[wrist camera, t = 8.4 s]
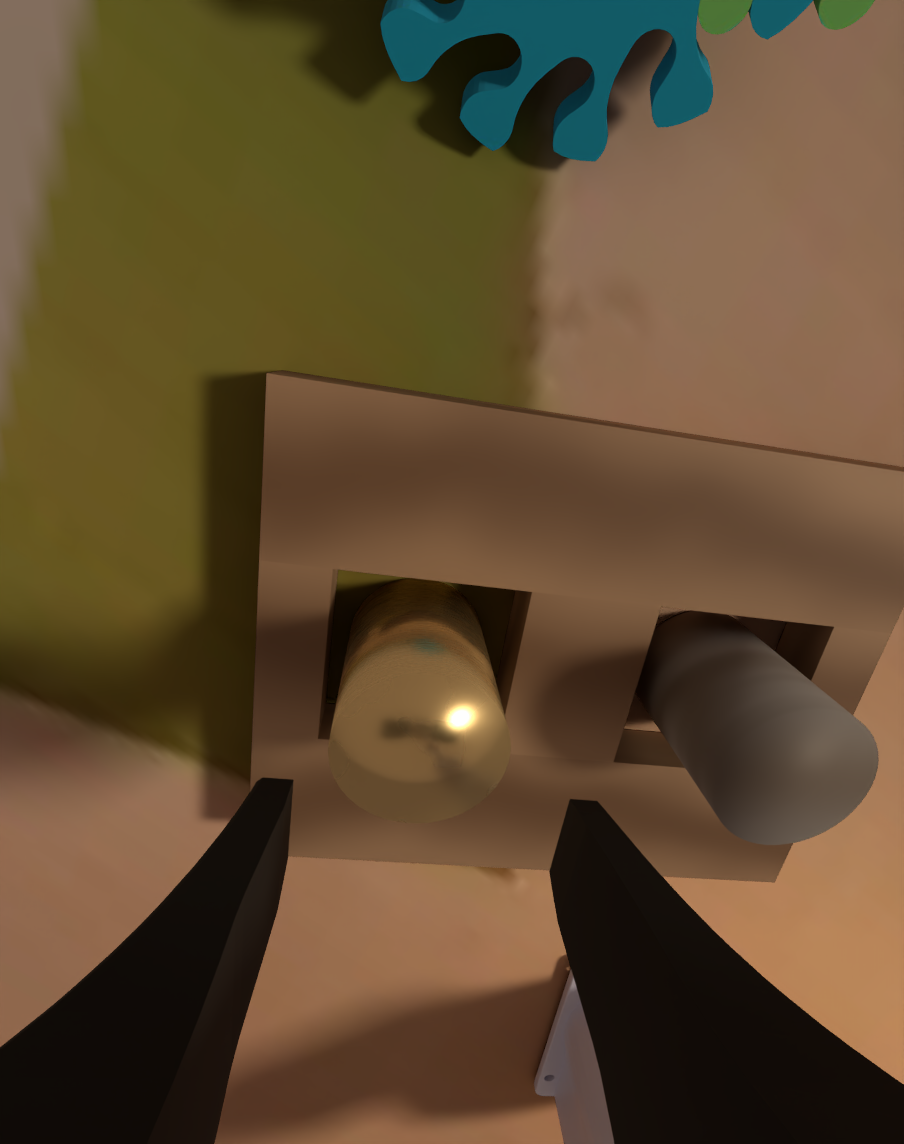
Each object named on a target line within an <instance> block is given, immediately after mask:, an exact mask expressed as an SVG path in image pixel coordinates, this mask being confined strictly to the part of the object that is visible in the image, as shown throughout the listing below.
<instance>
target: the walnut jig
mask: <svg viewBox="0 0 904 1144" xmlns="http://www.w3.org/2000/svg"><path fill="white" fill-rule="evenodd" d="M338 570H347V571H355V572H364V573H373V574H381V575H390V576H399V577H407V578H416V579H425V580H433V581H442V582H451V583H459V584H468V585H477V586H485V587H494V588H503V589H511V590H515V594H514V599H513V604H512V609H511V613H510V618H509V623H508V628H507V633H506V637H505V642H504V647H503V652H502V657H501V661H500V666H499V671H498V676H497V681H496V685H497V688H498V692H499V696H500V699H501V703H502V707H503V710H504V714H505V718H506V722H507V725H508V729H509V733H510V740H511V753H510V758H509V763H508V765H507V768H506V771H505V773H504V775H503V777H502V779H501V780H500V782H499V783H498V785H497V786H496V788H495V789H494V790H493V791H492V792H491V793H490V794H489V795H488V796H487V797H486V798H485V799H484V800H483V801H481V802H480V803H479V804H477V805H476V806H474V807H473V808H471V809H469V810H468V811H466V812H464V813H462V814H459V815H457V816H454V817H452V818H448V819H445V820H441V821H436V822H430V823H402V822H395V821H391V820H387V819H384V818H381V817H378V816H375V815H373V814H371V813H369V812H367V811H365V810H364V809H362V808H361V807H359V806H358V805H356V804H355V803H354V802H353V801H351V800H350V799H349V798H348V797H347V796H346V795H345V794H344V792H343V791H342V790H341V789H340V787H339V786H338V784H337V782H336V781H335V779H334V776H333V774H332V772H331V768H330V764H329V757H328V745H329V739H330V733H331V728H332V723H333V718H334V713H335V707H336V704H327V703H326V696H327V685H328V674H329V663H330V652H331V641H332V630H333V619H334V608H335V597H336V586H337V575H338ZM661 607H667V608H676V609H685V610H693V611H690V612H685V613H682V614H679V615H677V616H674V617H672V618H670V619H668V620H667V621H665V622H663V623H662V624H660V625H659V626H658V627H656V628H655V625H656V622H657V619H658V616H659V612H660V609H661ZM903 607H904V467H899V466H892V465H886V464H879V463H873V462H867V461H860V460H854V459H847V458H841V457H835V456H828V455H822V454H815V453H809V452H803V451H796V450H790V449H783V448H777V447H770V446H764V445H758V444H751V443H745V442H738V441H732V440H726V439H719V438H713V437H706V436H700V435H694V434H687V433H681V432H674V431H668V430H662V429H655V428H649V427H642V426H636V425H629V424H623V423H617V422H610V421H604V420H597V419H591V418H585V417H578V416H572V415H565V414H559V413H553V412H546V411H540V410H533V409H527V408H521V407H514V406H508V405H501V404H495V403H488V402H482V401H476V400H469V399H463V398H456V397H450V396H444V395H437V394H431V393H424V392H418V391H412V390H405V389H399V388H392V387H386V386H380V385H373V384H367V383H360V382H354V381H347V380H341V379H335V378H328V377H322V376H315V375H309V374H303V373H296V372H290V371H283V370H282V371H276V372H270V373H267V376H266V401H265V427H264V452H263V477H262V502H261V527H260V553H259V578H258V603H257V628H256V654H255V679H254V704H253V729H252V754H251V780H250V791H251V790H252V788H253V787H254V785H255V783H256V782H257V781H258V780H260V779H261V778H262V777H264V778H278V779H293V780H294V781H293V795H292V809H291V823H290V837H289V851H288V856H292V857H310V858H329V859H347V860H366V861H385V862H403V863H422V864H440V865H459V866H478V867H496V868H515V869H533V870H550V867H551V864H552V860H553V857H554V853H555V849H556V846H557V842H558V839H559V835H560V832H561V828H562V825H563V821H564V818H565V814H566V811H567V807H568V804H569V800H570V799H578V800H593V801H598V802H599V803H600V805H601V806H602V807H603V808H604V809H605V810H606V811H607V813H608V814H609V815H610V816H611V817H612V819H613V820H614V821H615V822H616V823H617V824H618V826H619V827H620V828H621V829H622V830H623V832H624V833H625V834H626V835H627V836H628V838H629V839H630V840H631V841H632V842H633V843H634V845H635V846H636V847H637V848H638V849H639V850H640V852H641V853H642V854H643V855H644V856H645V857H646V859H647V860H648V861H649V862H650V863H651V864H652V866H653V867H654V868H655V869H656V870H657V871H658V872H659V873H660V875H661V876H664V877H682V878H701V879H719V880H738V881H757V882H775V881H776V878H777V876H778V874H779V872H780V870H781V868H782V866H783V863H784V861H785V859H786V857H787V855H788V853H789V851H790V849H791V846H792V844H793V843H795V842H799V841H802V840H806V839H809V838H811V837H814V836H816V835H819V834H821V833H823V832H825V831H827V830H828V829H830V828H832V827H833V826H835V825H837V824H838V823H839V822H841V821H842V820H843V819H845V818H846V817H847V816H848V815H849V814H850V813H851V812H853V811H854V809H855V808H856V807H857V806H858V805H859V804H860V803H861V801H862V800H863V799H864V797H865V796H866V795H867V793H868V791H869V790H870V788H871V786H872V784H873V781H874V779H875V776H876V772H877V768H878V749H877V745H876V742H875V740H874V737H873V735H872V734H871V732H870V731H869V730H868V729H867V728H866V726H865V725H864V724H863V723H861V722H860V721H859V720H858V719H856V718H855V717H854V716H853V714H854V712H855V710H856V708H857V706H858V703H859V701H860V699H861V697H862V695H863V693H864V691H865V688H866V686H867V684H868V682H869V680H870V678H871V676H872V674H873V671H874V669H875V667H876V665H877V663H878V661H879V659H880V656H881V654H882V652H883V650H884V648H885V646H886V644H887V642H888V639H889V637H890V635H891V633H892V631H893V629H894V627H895V624H896V622H897V620H898V618H899V616H900V614H901V612H902V610H903ZM727 614H728V615H727ZM729 615H737V616H745V617H754V618H763V619H771V620H780V621H787V623H786V626H785V628H784V631H783V633H782V636H781V639H780V641H779V644H778V646H777V649H776V651H774V650H772V649H771V648H770V647H769V646H768V645H766V644H765V643H764V642H763V641H762V640H760V639H759V638H758V637H757V636H755V635H754V634H753V633H752V632H751V631H749V630H748V629H747V628H746V627H744V626H743V625H742V624H741V623H740V622H738V621H737V620H736V619H734V618H733V617H731V616H729ZM635 692H636V695H637V696H638V698H639V699H640V701H641V702H642V704H643V705H644V707H645V708H646V710H647V711H648V713H649V714H650V716H651V717H652V719H653V720H654V722H655V723H656V725H657V726H658V728H659V729H660V731H661V732H650V731H639V730H627V729H624V726H625V723H626V720H627V716H628V713H629V710H630V707H631V703H632V700H633V697H634V694H635Z"/></svg>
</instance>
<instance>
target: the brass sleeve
mask: <svg viewBox="0 0 904 1144" xmlns="http://www.w3.org/2000/svg"><path fill="white" fill-rule="evenodd" d="M510 753H511V740H510V733H509V729H508V725H507V722H506V718H505V714H504V710H503V707H502V703H501V699H500V696H499V692H498V688H497V685H496V681H495V677H494V673H493V670H492V666H491V662H490V659H489V655H488V651H487V648H486V644H485V640H484V637H483V633H482V629H481V625H480V622H479V618H478V616H477V614H476V611H475V609H474V608H473V606H472V605H471V603H470V602H469V601H468V600H467V599H466V597H464V596H463V595H462V594H461V593H460V592H459V591H457V590H456V589H454V588H453V587H451V586H449V585H447V584H445V583H442V582H439V581H433V580H425V579H416V578H407V579H401V580H398V581H394V582H391V583H389V584H386V585H384V586H382V587H381V588H379V589H377V590H376V591H374V592H373V593H372V594H371V595H369V596H368V597H367V598H366V599H365V600H364V602H363V603H362V604H361V606H360V607H359V608H358V610H357V612H356V614H355V616H354V619H353V621H352V625H351V630H350V635H349V640H348V645H347V651H346V656H345V661H344V666H343V671H342V676H341V682H340V687H339V692H338V697H337V702H336V707H335V713H334V718H333V723H332V728H331V733H330V739H329V745H328V757H329V764H330V768H331V772H332V774H333V776H334V779H335V781H336V782H337V784H338V786H339V787H340V789H341V790H342V791H343V792H344V794H345V795H346V796H347V797H348V798H349V799H350V800H351V801H353V802H354V803H355V804H356V805H358V806H359V807H361V808H362V809H364V810H365V811H367V812H369V813H371V814H373V815H375V816H378V817H381V818H384V819H387V820H391V821H395V822H402V823H430V822H436V821H441V820H445V819H448V818H452V817H454V816H457V815H459V814H462V813H464V812H466V811H468V810H469V809H471V808H473V807H474V806H476V805H477V804H479V803H480V802H481V801H483V800H484V799H485V798H486V797H487V796H488V795H489V794H490V793H491V792H492V791H493V790H494V789H495V788H496V786H497V785H498V783H499V782H500V780H501V779H502V777H503V775H504V773H505V771H506V768H507V765H508V763H509V758H510Z"/></svg>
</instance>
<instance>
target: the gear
mask: <svg viewBox="0 0 904 1144" xmlns="http://www.w3.org/2000/svg"><path fill="white" fill-rule="evenodd" d="M812 1H814V4H815V7H816V10H817V13H818V15H819V18H820V21H821V23H822V24H823V25H824V26H825V27H826V28H829V29H834V30H836V29H842V28H845V27H847V26H849V25H851V24H853V23H854V22H856V21H857V20H858V19H859V18H861V17H862V16H863V15H864V14H865V13H866V12H867V11H868V9H869V8H870V7H871V5H872V4H873V2H874V1H875V0H456V1H454V2H453V3H449V4H441V3H438V2H436V1H434V0H388V1H387V2H386V4H385V7H384V11H383V15H382V19H381V23H380V24H381V31H382V37H383V40H384V43H385V47H386V50H387V52H388V55H389V57H390V59H391V61H392V64H393V66H394V68H395V69H396V71H397V73H398V75H399V77H400V79H401V81H406V82H412V81H417V80H419V79H421V78H423V77H424V76H425V75H426V74H427V73H428V72H429V70H430V69H431V67H432V66H433V64H434V63H435V61H436V60H437V59H438V58H439V57H440V56H441V55H442V54H443V53H444V52H445V51H446V50H448V49H449V48H450V47H452V46H453V45H454V44H456V43H458V42H460V41H463V40H465V39H467V38H471V37H475V36H479V35H486V34H494V33H504V34H507V35H509V36H510V37H512V38H513V39H514V40H515V41H516V42H517V44H518V46H519V48H520V51H521V54H520V56H519V58H518V59H517V61H516V62H515V63H514V64H513V65H512V66H510V67H509V68H507V69H503V70H495V71H487V72H483V73H480V74H478V75H476V76H474V77H473V78H472V79H471V80H470V81H469V83H468V84H467V86H466V88H465V90H464V93H463V98H462V105H461V112H460V119H461V121H462V123H463V124H464V126H465V127H466V129H467V130H468V131H469V132H470V133H471V134H472V135H473V136H474V137H475V138H476V139H477V140H478V141H479V142H481V143H482V144H483V145H485V146H486V147H488V148H489V149H490V150H492V151H494V150H496V149H498V148H500V147H501V146H503V145H504V144H505V143H506V141H507V140H508V139H509V137H510V135H511V133H512V130H513V125H514V121H515V118H516V115H517V112H518V110H519V107H520V105H521V104H522V102H523V100H524V98H525V97H526V95H527V93H528V92H529V91H530V90H531V88H532V87H533V86H534V85H535V83H536V82H537V81H539V80H540V79H541V78H542V77H543V76H544V75H545V74H546V73H547V72H549V71H550V70H551V69H552V68H554V67H555V66H556V65H557V64H559V63H560V62H561V61H563V60H565V59H567V58H570V57H580V58H583V59H585V60H586V61H588V63H589V64H590V65H591V67H592V69H593V70H592V73H591V75H590V77H589V78H588V80H587V81H586V82H585V83H584V84H583V85H582V86H581V87H580V88H578V89H577V90H576V91H574V92H573V93H572V94H570V95H569V96H568V97H566V98H565V99H564V100H563V101H562V102H561V104H560V105H559V107H558V109H557V111H556V113H555V117H554V124H553V149H554V151H555V152H556V153H558V154H560V155H561V156H564V157H567V158H570V159H575V160H582V161H596V160H597V159H598V158H599V157H600V156H601V154H602V153H603V151H604V149H605V146H606V143H607V137H608V129H607V104H608V99H609V94H610V91H611V88H612V85H613V82H614V79H615V77H616V75H617V73H618V71H619V69H620V67H621V65H622V63H623V61H624V60H625V58H626V56H627V54H628V53H629V51H630V49H631V47H632V46H633V44H634V43H635V42H636V40H637V39H638V38H639V37H640V36H641V35H643V34H644V33H646V32H648V31H651V30H653V29H662V30H666V31H667V32H669V33H670V34H671V35H672V37H673V40H672V43H671V45H670V47H669V49H668V51H667V53H666V55H665V56H664V58H663V59H662V61H661V63H660V64H659V66H658V68H657V69H656V71H655V73H654V75H653V78H652V81H651V86H650V97H651V107H652V117H653V120H654V123H655V124H656V126H657V127H669V126H674V125H678V124H681V123H683V122H686V121H688V120H691V119H693V118H695V117H697V116H699V115H701V114H703V113H706V112H707V111H708V109H709V107H710V105H711V102H712V97H713V84H712V79H711V73H710V68H709V64H708V61H707V59H706V57H705V56H704V54H703V52H702V51H701V49H700V47H699V44H698V42H697V39H696V23H697V15H698V17H699V21H700V24H701V26H702V28H703V29H704V30H705V31H706V32H709V33H711V34H722V33H725V32H727V31H730V30H731V29H733V28H734V27H735V26H737V25H738V24H739V23H740V22H741V21H742V19H743V18H744V17H745V15H746V14H747V12H749V15H750V19H751V23H752V26H753V29H754V30H755V32H756V33H757V34H758V35H759V36H760V37H762V38H765V39H769V38H770V37H772V36H774V35H775V34H777V33H779V32H780V31H781V30H783V29H784V28H785V27H786V26H788V25H789V24H790V23H791V22H793V21H794V20H795V19H796V18H797V17H798V16H799V15H800V14H801V13H802V12H803V11H804V10H805V9H806V8H807V7H808V6H809V4H810V3H811V2H812Z"/></svg>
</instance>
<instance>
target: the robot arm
mask: <svg viewBox="0 0 904 1144" xmlns="http://www.w3.org/2000/svg"><path fill="white" fill-rule="evenodd" d="M293 781H294V780H293V779H278V778H264V777H262V778H261V779H260V780H258V781H257V782H256V783H255V785H254V787H253V788H252V790H251V791H250V793H249V795H248V796H247V798H246V799H245V801H244V802H243V804H242V805H241V806H240V808H239V809H238V811H237V812H236V813H235V815H234V816H233V818H232V819H231V820H230V822H229V823H228V824H227V826H226V827H225V828H224V830H223V831H222V832H221V833H220V835H219V836H218V837H217V838H216V840H215V841H214V842H213V843H212V845H211V846H210V847H209V848H208V850H207V851H206V852H205V853H204V855H203V856H202V857H201V858H200V860H199V861H198V862H197V863H196V864H195V866H194V867H193V868H192V869H191V870H190V871H189V873H188V874H187V875H186V876H185V877H184V878H183V879H182V880H181V881H180V883H179V884H178V885H177V886H176V887H175V888H174V889H173V890H172V892H171V893H170V894H169V895H168V896H167V897H166V898H165V899H164V901H163V902H162V903H161V904H160V905H159V906H158V907H157V908H156V909H155V910H154V911H153V912H152V913H151V914H150V915H149V916H148V917H147V918H146V919H145V920H144V922H143V923H142V924H141V925H140V926H139V927H138V928H137V929H136V930H135V931H134V932H133V933H131V934H130V935H129V936H128V937H127V938H126V939H125V940H124V941H123V942H122V943H121V944H120V945H119V946H118V947H117V948H116V949H115V950H114V951H113V952H112V953H111V954H110V955H109V956H108V957H106V958H105V959H104V960H103V961H102V962H101V963H100V964H99V965H98V966H97V967H95V968H94V969H93V970H92V971H91V972H90V973H89V974H88V975H87V976H86V977H84V978H83V979H82V980H81V981H80V982H79V983H78V984H77V985H76V986H74V987H73V988H72V989H71V990H70V991H69V992H68V993H66V994H65V995H64V996H63V997H62V998H61V999H59V1000H58V1001H57V1002H56V1003H55V1004H54V1005H52V1006H51V1007H50V1008H49V1009H48V1010H46V1011H45V1012H44V1013H43V1014H41V1015H40V1016H39V1017H38V1018H36V1019H35V1020H34V1021H33V1022H31V1023H30V1024H29V1025H28V1026H26V1027H25V1028H24V1029H23V1030H21V1031H20V1032H19V1033H18V1034H16V1035H15V1036H14V1037H13V1038H11V1039H10V1040H9V1041H8V1042H6V1043H5V1044H4V1045H3V1046H1V1047H0V1144H214V1143H215V1138H216V1134H217V1129H218V1125H219V1120H220V1116H221V1111H222V1106H223V1102H224V1097H225V1093H226V1088H227V1084H228V1079H229V1075H230V1070H231V1066H232V1062H233V1059H234V1055H235V1051H236V1047H237V1044H238V1040H239V1036H240V1033H241V1030H242V1026H243V1023H244V1020H245V1016H246V1013H247V1010H248V1007H249V1003H250V1000H251V997H252V993H253V990H254V987H255V983H256V980H257V977H258V973H259V970H260V967H261V964H262V960H263V957H264V954H265V950H266V947H267V944H268V940H269V937H270V934H271V930H272V927H273V924H274V920H275V917H276V913H277V910H278V905H279V900H280V895H281V890H282V885H283V880H284V875H285V870H286V865H287V860H288V851H289V837H290V823H291V809H292V795H293ZM549 872H550V878H551V884H552V891H553V897H554V903H555V908H556V914H557V920H558V924H559V928H560V931H561V935H562V939H563V942H564V946H565V949H566V953H567V956H568V960H569V963H570V967H571V970H570V973H569V976H568V979H567V982H566V986H565V989H564V992H563V995H562V998H561V1001H560V1004H559V1007H558V1010H557V1013H556V1016H555V1019H554V1022H553V1025H552V1028H551V1032H550V1035H549V1038H548V1041H547V1044H546V1047H545V1050H544V1053H543V1056H542V1059H541V1062H540V1065H539V1068H538V1071H537V1074H536V1078H535V1081H534V1088H535V1092H536V1093H537V1094H538V1095H540V1096H555V1101H556V1106H557V1111H558V1116H559V1121H560V1126H561V1131H562V1136H563V1141H564V1144H904V1084H902V1083H901V1082H899V1081H898V1080H896V1079H895V1078H893V1077H892V1076H890V1075H889V1074H888V1073H886V1072H885V1071H883V1070H882V1069H881V1068H879V1067H878V1066H877V1065H875V1064H874V1063H872V1062H871V1061H870V1060H868V1059H867V1058H865V1057H864V1056H863V1055H861V1054H860V1053H858V1052H857V1051H856V1050H854V1049H853V1048H852V1047H850V1046H849V1045H847V1044H846V1043H845V1042H844V1041H842V1040H841V1039H840V1038H838V1037H837V1036H836V1035H834V1034H833V1033H832V1032H830V1031H829V1030H828V1029H826V1028H825V1027H824V1026H822V1025H821V1024H820V1023H819V1022H817V1021H816V1020H815V1019H814V1018H812V1017H811V1016H810V1015H809V1014H808V1013H806V1012H805V1011H804V1010H803V1009H801V1008H800V1007H799V1006H798V1005H796V1004H795V1003H794V1002H793V1001H791V1000H790V999H789V998H788V997H787V996H785V995H784V994H783V993H782V992H780V991H779V990H778V989H777V988H776V987H775V986H773V985H772V984H771V983H770V982H769V981H768V980H766V979H765V978H764V977H763V976H762V975H761V974H760V973H759V972H757V971H756V970H755V969H754V968H753V967H752V966H751V965H750V964H749V963H748V962H746V961H745V960H744V959H743V958H742V957H741V956H740V955H739V954H738V953H737V952H735V951H734V950H733V949H732V948H731V947H730V946H729V945H728V944H727V943H726V942H725V941H724V940H723V939H722V938H721V937H720V936H719V935H717V934H716V933H715V932H714V931H713V930H712V929H711V928H710V927H709V926H708V924H707V923H706V922H705V921H704V920H703V919H702V918H701V917H700V916H699V915H698V914H697V913H696V912H695V911H694V910H693V909H692V908H691V907H690V906H689V905H688V904H687V903H686V902H685V901H684V900H683V899H682V898H681V897H680V895H679V894H678V893H677V892H676V891H675V890H674V889H673V888H672V887H671V886H670V885H669V883H668V882H667V881H666V880H665V879H664V878H663V877H662V876H661V875H660V873H659V872H658V871H657V870H656V869H655V868H654V867H653V866H652V864H651V863H650V862H649V861H648V860H647V859H646V857H645V856H644V855H643V854H642V853H641V852H640V850H639V849H638V848H637V847H636V846H635V845H634V843H633V842H632V841H631V840H630V839H629V838H628V836H627V835H626V834H625V833H624V832H623V830H622V829H621V828H620V827H619V826H618V824H617V823H616V822H615V821H614V820H613V819H612V817H611V816H610V815H609V814H608V813H607V811H606V810H605V809H604V808H603V807H602V806H601V805H600V803H599V802H598V801H593V800H578V799H570V800H569V804H568V807H567V811H566V814H565V818H564V821H563V825H562V828H561V832H560V835H559V839H558V842H557V846H556V849H555V853H554V857H553V860H552V864H551V867H550V871H549Z"/></svg>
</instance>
